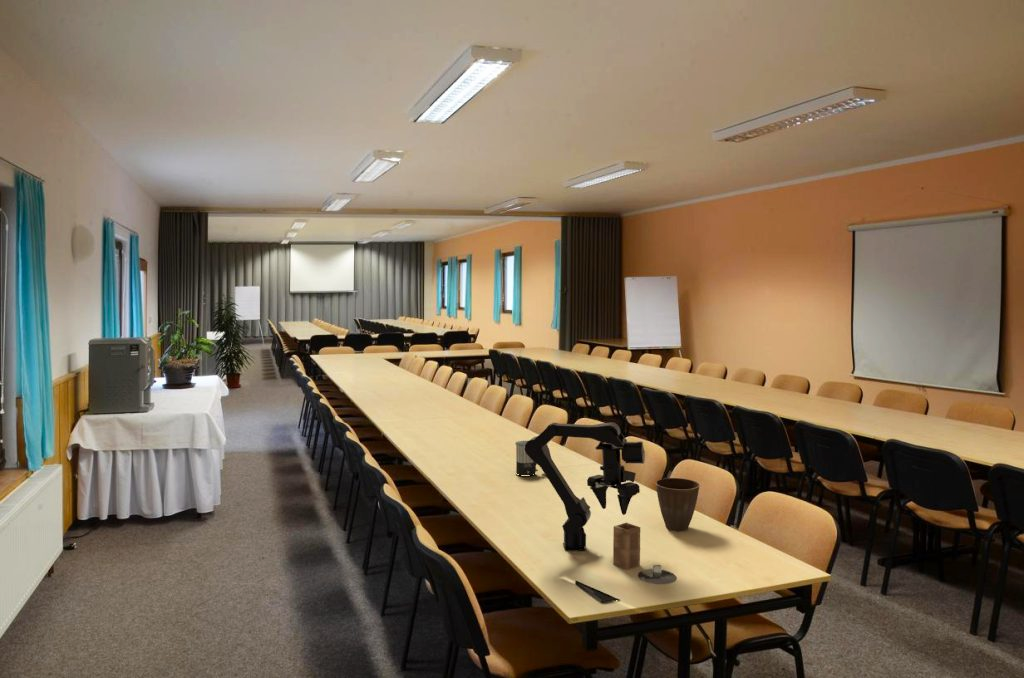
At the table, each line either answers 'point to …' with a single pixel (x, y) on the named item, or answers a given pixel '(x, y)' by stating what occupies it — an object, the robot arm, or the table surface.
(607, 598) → the phone
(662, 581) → the peg stand
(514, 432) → the table surface
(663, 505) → the plant pot
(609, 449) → the robot arm
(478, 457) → the table surface
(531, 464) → the milk frother
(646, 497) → the table surface
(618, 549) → the walnut sleeve
